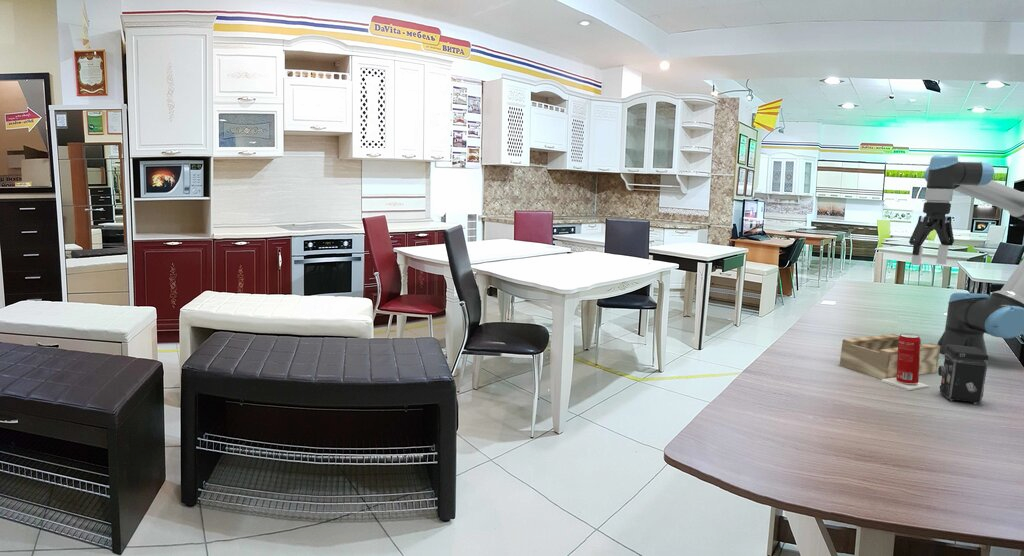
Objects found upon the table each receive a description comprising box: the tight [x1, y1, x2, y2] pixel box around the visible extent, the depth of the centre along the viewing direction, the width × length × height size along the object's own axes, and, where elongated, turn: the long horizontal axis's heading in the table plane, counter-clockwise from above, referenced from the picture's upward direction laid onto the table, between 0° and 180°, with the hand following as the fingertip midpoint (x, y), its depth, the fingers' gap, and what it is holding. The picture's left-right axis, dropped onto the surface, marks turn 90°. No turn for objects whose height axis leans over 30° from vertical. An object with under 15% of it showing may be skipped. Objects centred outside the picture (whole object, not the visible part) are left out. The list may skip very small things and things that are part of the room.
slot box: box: [839, 333, 941, 380], centre depth 202 cm, size 26×16×9 cm, turn 114°
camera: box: [937, 345, 989, 405], centre depth 175 cm, size 10×11×15 cm
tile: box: [880, 377, 930, 391], centre depth 187 cm, size 9×9×1 cm
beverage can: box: [896, 333, 922, 384], centre depth 186 cm, size 6×6×15 cm
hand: (928, 264), depth 206 cm, fingers open, 13 cm apart
